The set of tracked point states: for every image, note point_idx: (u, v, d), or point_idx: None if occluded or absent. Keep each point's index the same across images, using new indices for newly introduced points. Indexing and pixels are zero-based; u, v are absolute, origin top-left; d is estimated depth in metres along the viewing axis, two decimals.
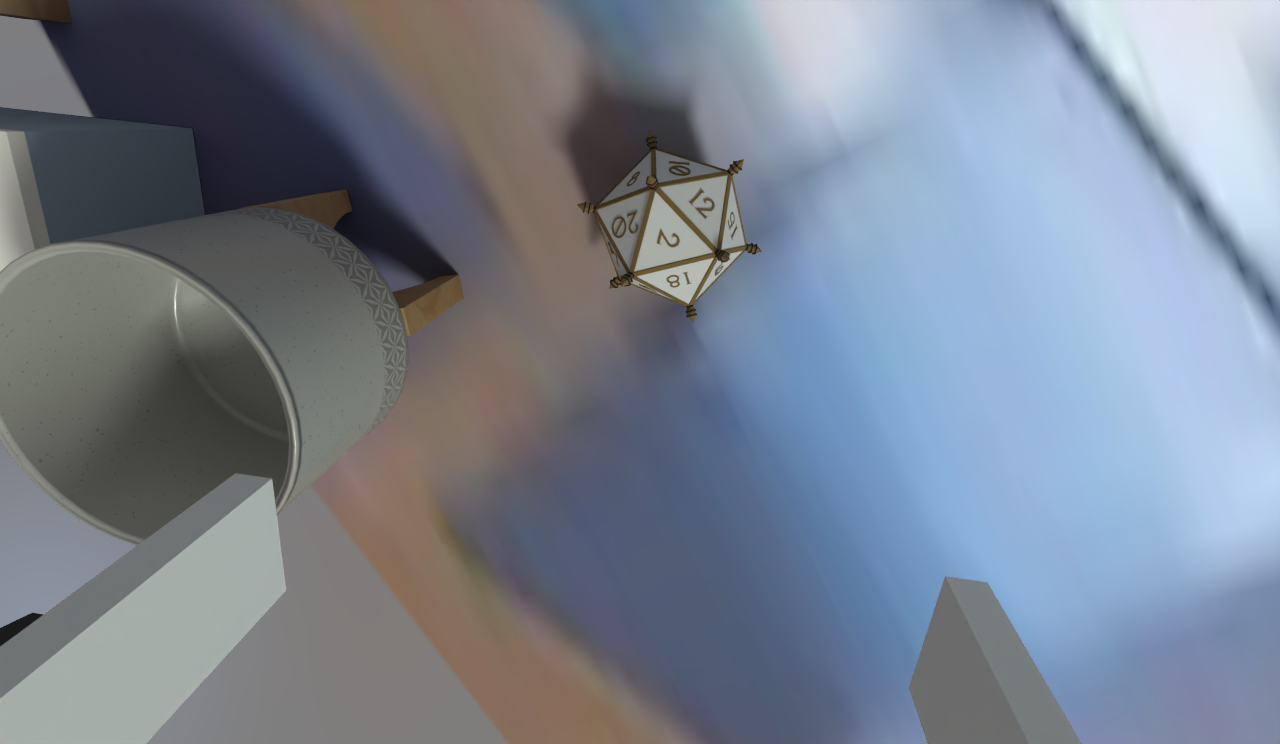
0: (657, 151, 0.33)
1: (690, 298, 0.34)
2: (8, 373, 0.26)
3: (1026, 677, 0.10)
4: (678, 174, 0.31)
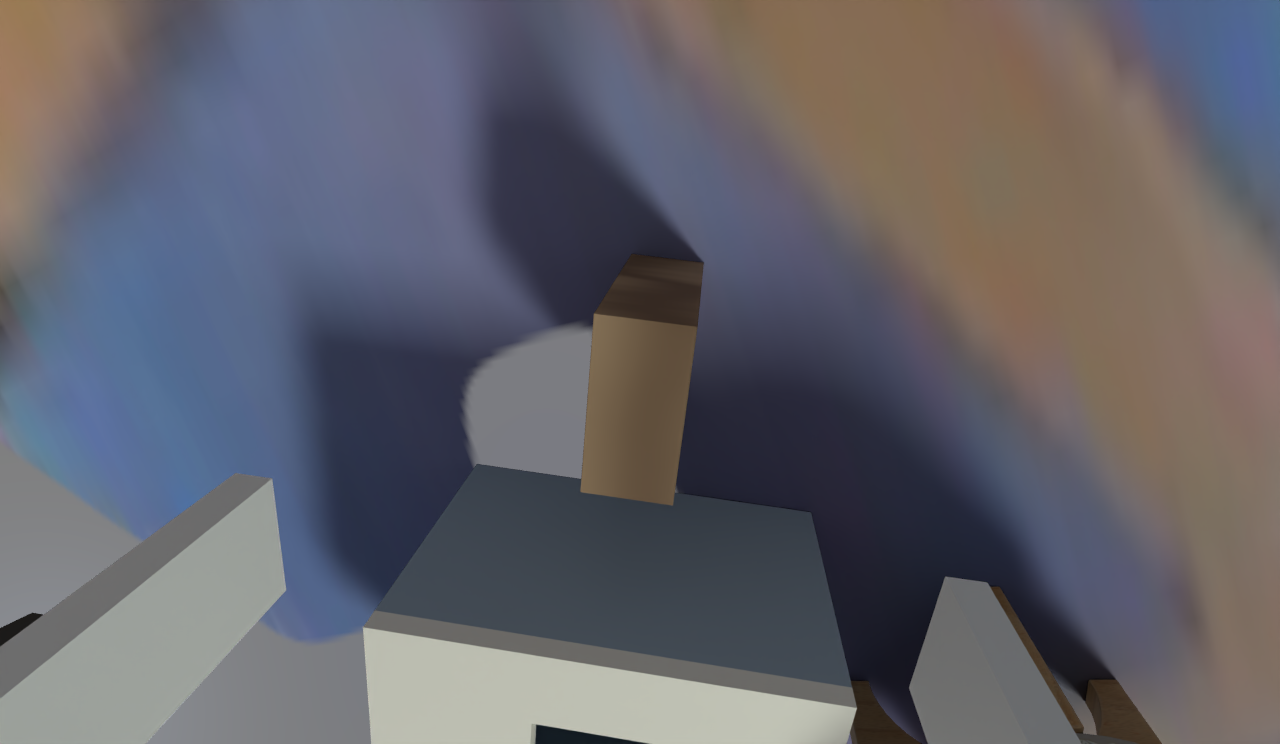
0: None
1: None
2: None
3: (1026, 677, 0.10)
4: None
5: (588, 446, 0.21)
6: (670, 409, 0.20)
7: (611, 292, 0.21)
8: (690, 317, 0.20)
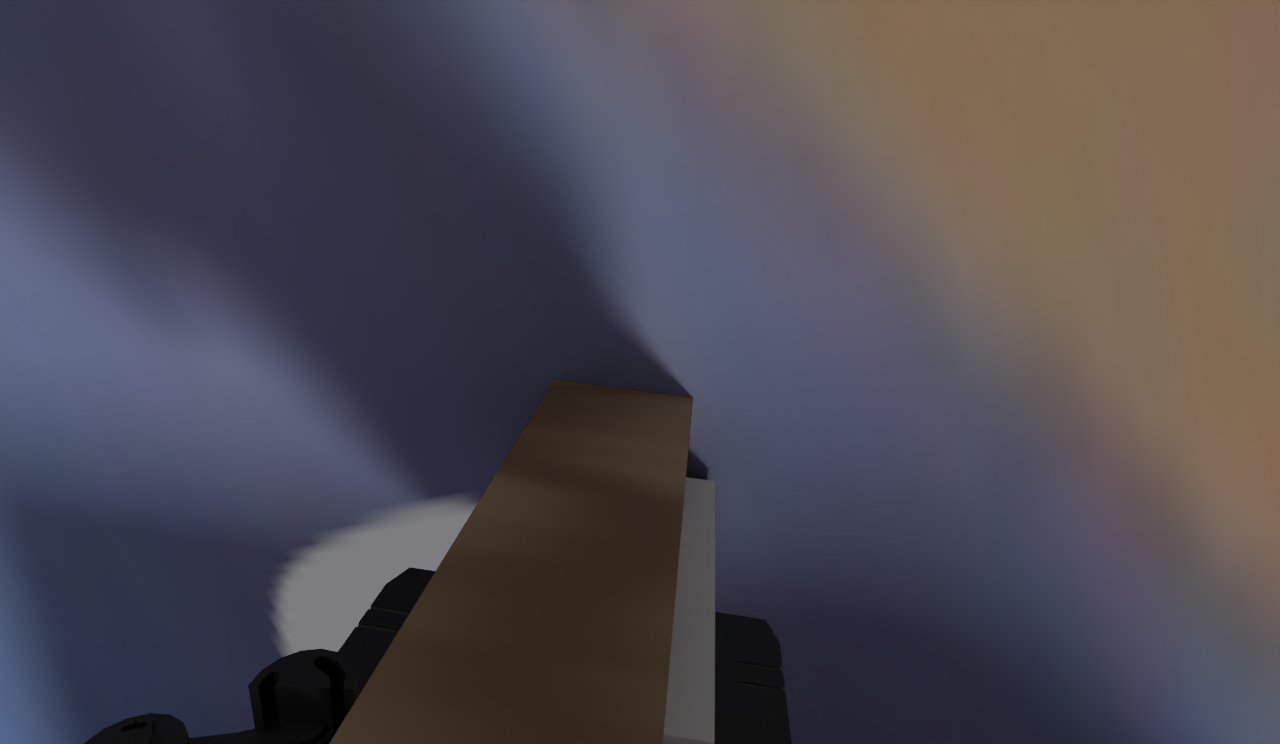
0: None
1: None
2: None
3: (701, 540, 0.12)
4: None
5: None
6: None
7: (445, 572, 0.08)
8: (638, 724, 0.06)
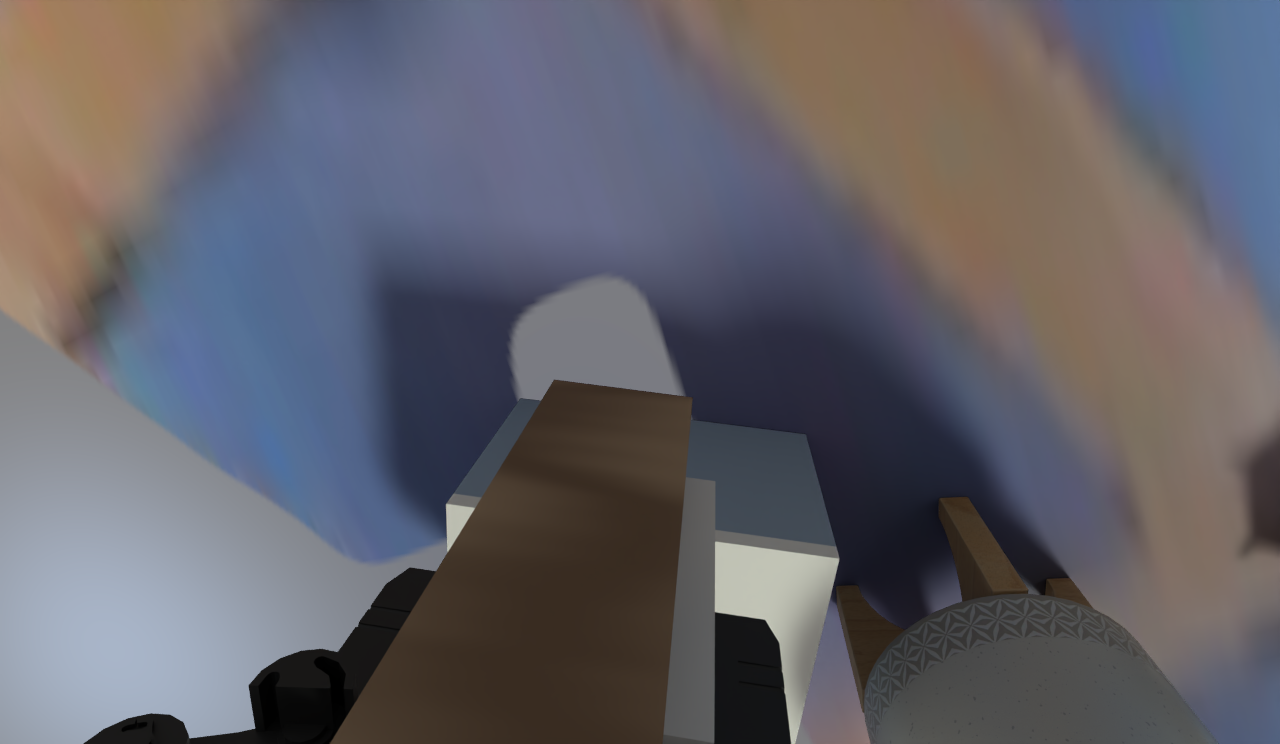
0: None
1: None
2: None
3: (701, 540, 0.12)
4: None
5: None
6: None
7: (446, 572, 0.08)
8: (640, 724, 0.06)
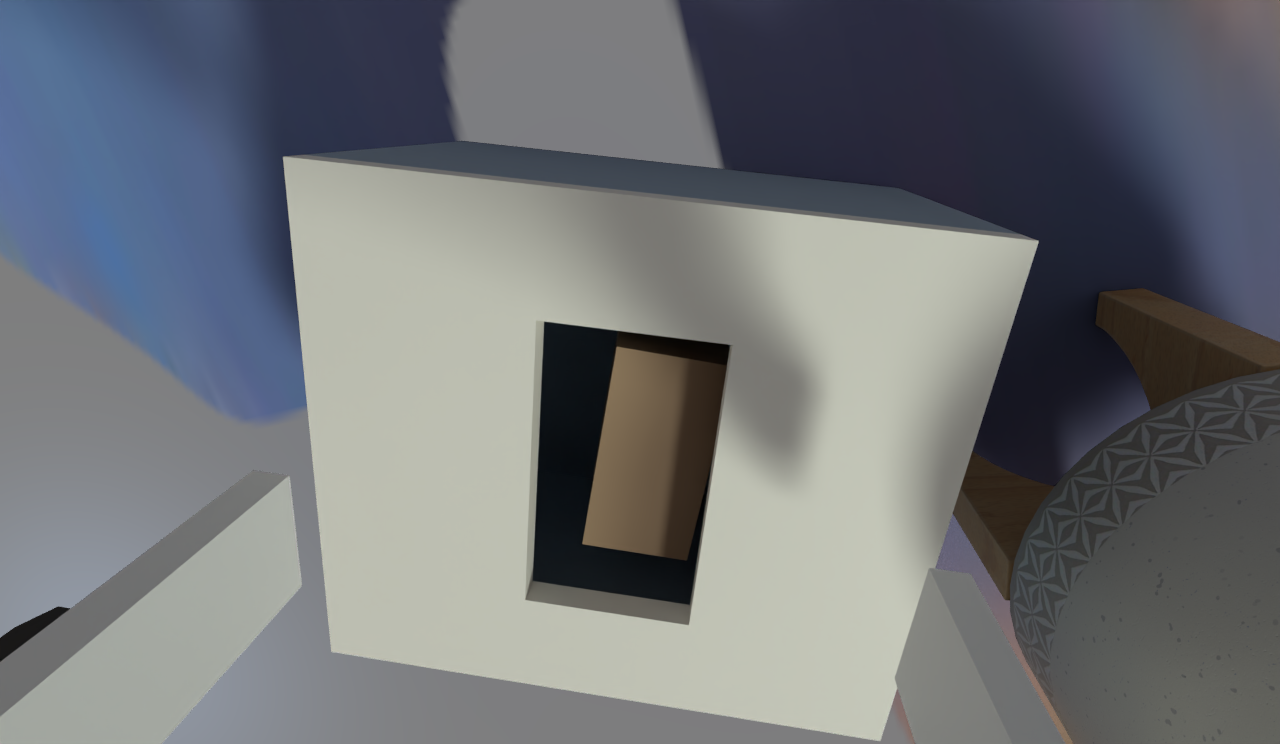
0: None
1: None
2: None
3: (1005, 665, 0.10)
4: None
5: (596, 494, 0.18)
6: (695, 455, 0.17)
7: None
8: (722, 354, 0.17)
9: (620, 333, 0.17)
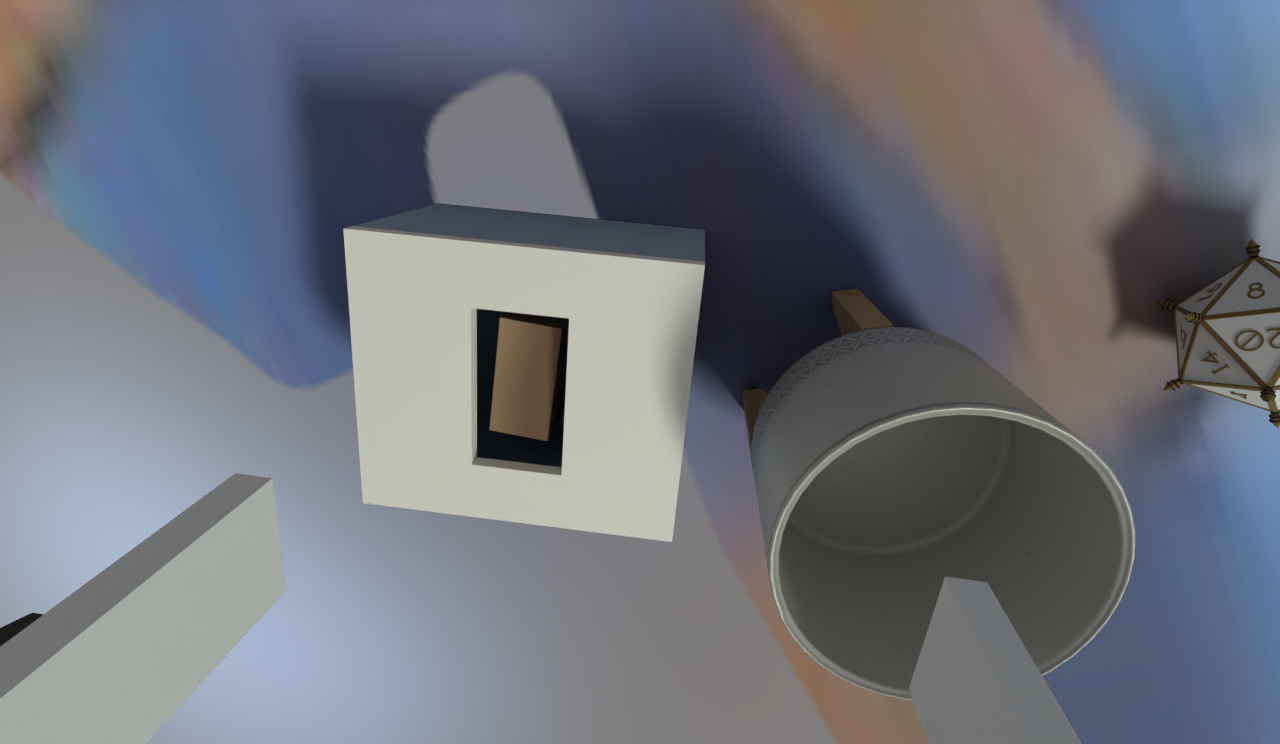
0: (1263, 260, 0.33)
1: None
2: None
3: (1026, 677, 0.10)
4: None
5: (495, 400, 0.33)
6: (545, 378, 0.32)
7: None
8: (560, 323, 0.32)
9: (507, 312, 0.32)
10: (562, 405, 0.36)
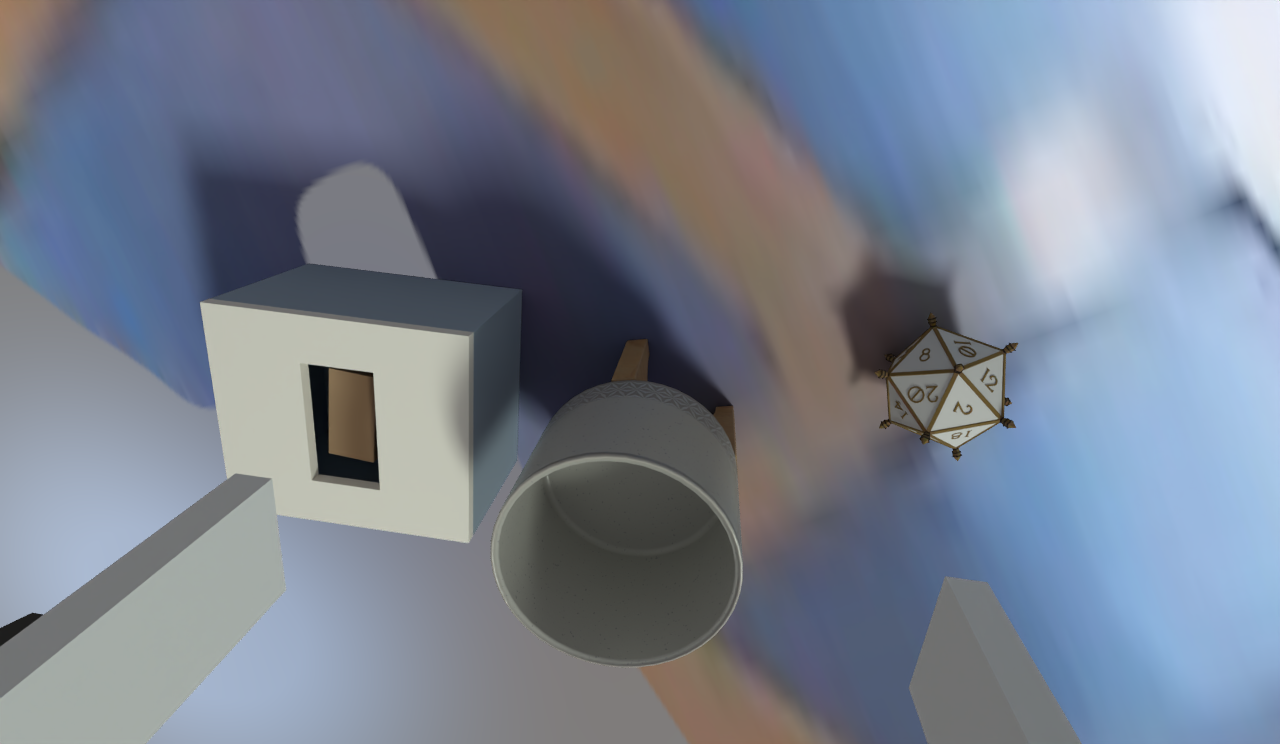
0: (938, 329, 0.42)
1: (960, 444, 0.42)
2: (503, 534, 0.35)
3: (1026, 677, 0.10)
4: (968, 356, 0.40)
5: (330, 430, 0.42)
6: (367, 415, 0.41)
7: None
8: None
9: None
10: None
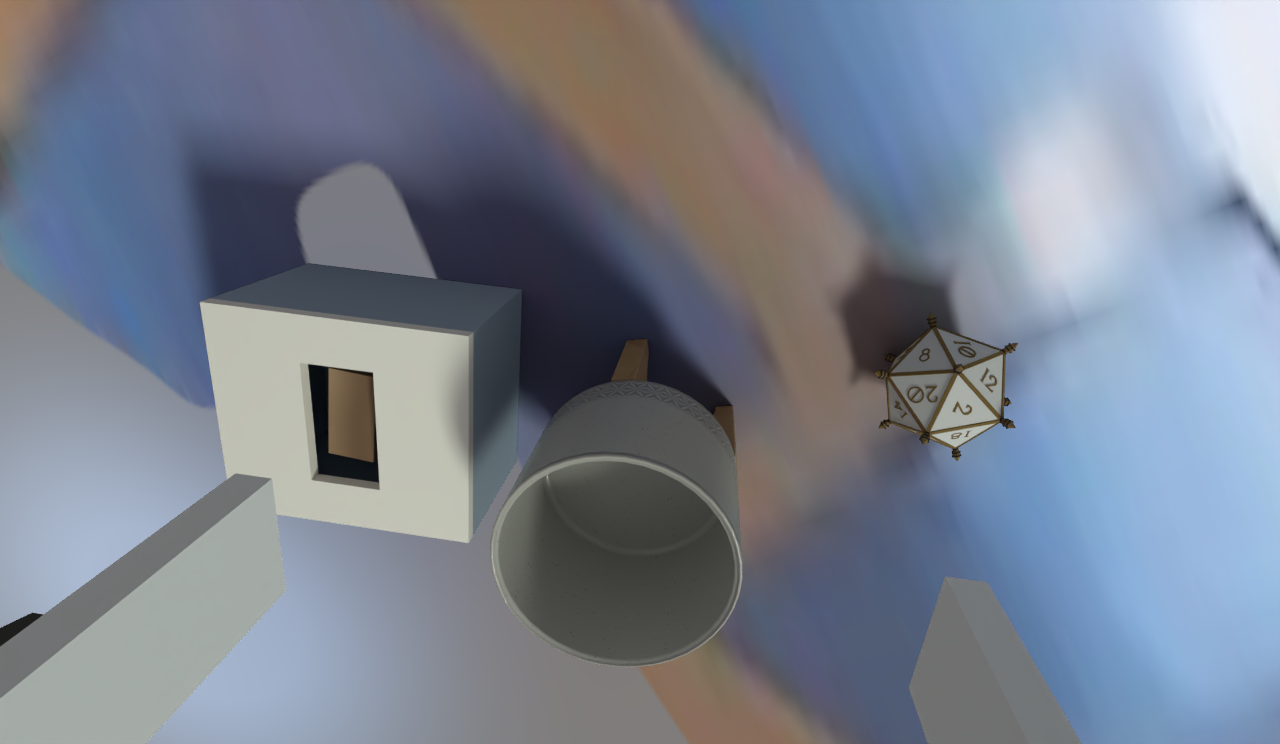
0: (938, 329, 0.42)
1: (959, 444, 0.42)
2: (503, 533, 0.35)
3: (1026, 677, 0.10)
4: (968, 356, 0.40)
5: (330, 430, 0.42)
6: (367, 415, 0.41)
7: None
8: None
9: None
10: None
